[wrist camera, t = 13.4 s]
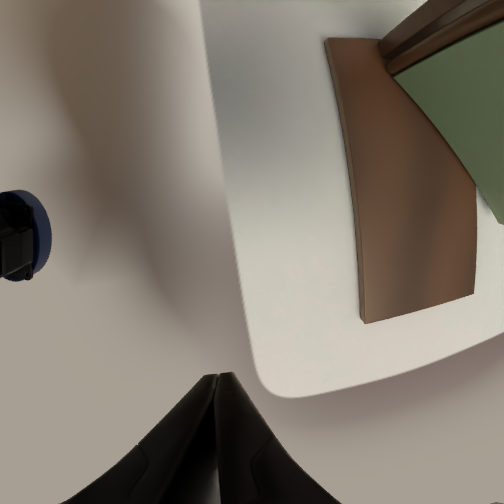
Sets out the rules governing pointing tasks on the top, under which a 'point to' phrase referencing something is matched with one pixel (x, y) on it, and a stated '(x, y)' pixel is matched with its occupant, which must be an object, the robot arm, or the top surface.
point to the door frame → (403, 176)
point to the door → (464, 92)
